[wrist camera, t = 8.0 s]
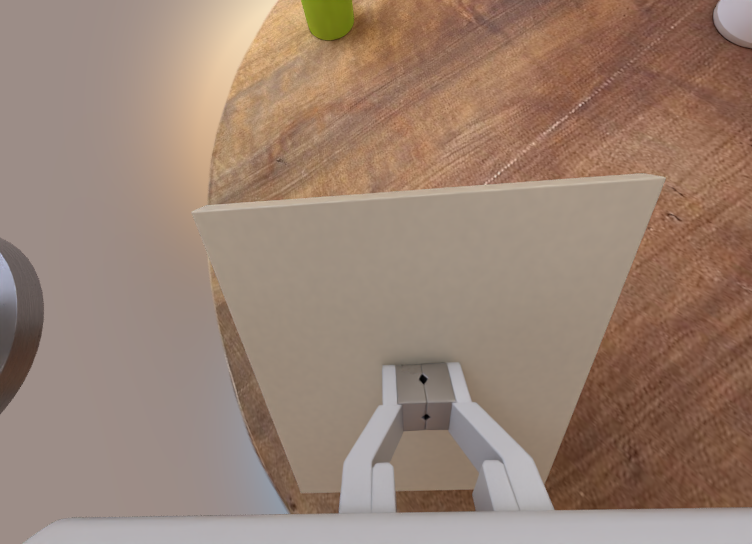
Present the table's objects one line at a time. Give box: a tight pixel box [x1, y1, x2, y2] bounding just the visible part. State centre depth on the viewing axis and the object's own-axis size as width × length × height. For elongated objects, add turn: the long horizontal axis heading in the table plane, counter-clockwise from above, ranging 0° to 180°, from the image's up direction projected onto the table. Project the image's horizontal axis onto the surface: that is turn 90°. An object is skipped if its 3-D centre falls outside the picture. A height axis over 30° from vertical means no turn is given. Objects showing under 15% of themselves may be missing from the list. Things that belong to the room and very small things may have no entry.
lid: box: [192, 173, 666, 493], centre depth 12 cm, size 16×14×1 cm
